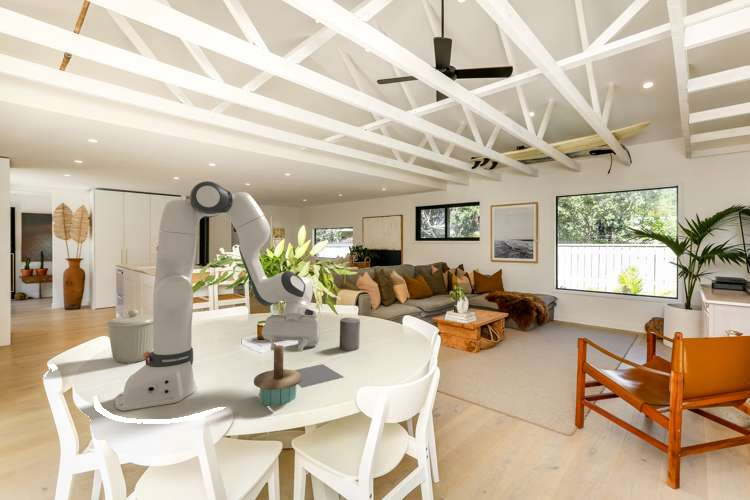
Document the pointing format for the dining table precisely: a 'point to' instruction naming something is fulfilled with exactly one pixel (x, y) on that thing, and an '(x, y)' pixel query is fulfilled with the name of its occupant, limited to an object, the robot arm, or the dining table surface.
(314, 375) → the mat
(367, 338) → the dining table surface
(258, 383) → the lid
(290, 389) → the bowl
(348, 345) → the pillar candle
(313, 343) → the teacup
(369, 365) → the dining table surface
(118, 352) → the canister
